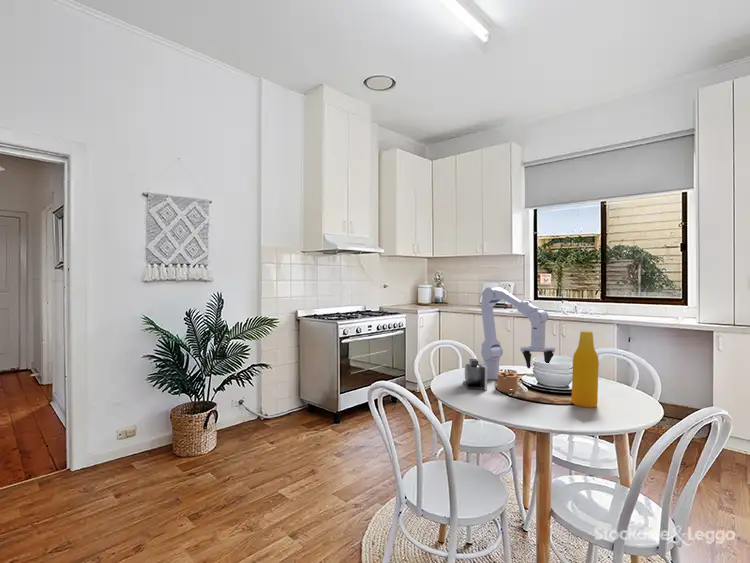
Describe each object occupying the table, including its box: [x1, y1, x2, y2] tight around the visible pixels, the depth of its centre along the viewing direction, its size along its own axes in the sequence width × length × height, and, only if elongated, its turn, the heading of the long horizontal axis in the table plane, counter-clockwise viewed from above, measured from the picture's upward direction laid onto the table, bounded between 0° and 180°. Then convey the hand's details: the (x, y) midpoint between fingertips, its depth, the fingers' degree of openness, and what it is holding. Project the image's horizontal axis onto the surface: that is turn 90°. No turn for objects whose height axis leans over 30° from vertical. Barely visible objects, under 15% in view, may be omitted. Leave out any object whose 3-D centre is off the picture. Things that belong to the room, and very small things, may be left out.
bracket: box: [496, 371, 520, 393], centre depth 188 cm, size 18×8×7 cm, turn 155°
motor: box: [462, 358, 488, 391], centre depth 188 cm, size 12×8×12 cm, turn 1°
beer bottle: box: [571, 330, 600, 409], centre depth 165 cm, size 9×9×29 cm
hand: (537, 368), depth 184 cm, fingers open, 7 cm apart
